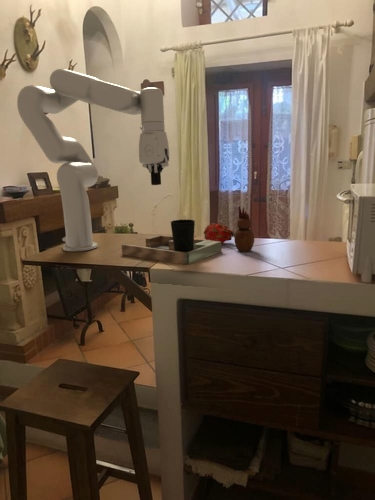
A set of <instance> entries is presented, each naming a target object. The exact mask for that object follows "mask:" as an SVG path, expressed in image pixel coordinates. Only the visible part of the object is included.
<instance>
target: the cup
mask: <svg viewBox="0 0 375 500" xmlns="http://www.w3.org/2000/svg"><path fill="white" fill-rule="evenodd" d="M195 222H196V220H194V219H176V220H172V221H171V220H170V228H171V234H172V235H171V236H173V243H174V250H175V251H178V252H185V253H187V252H189V251H192V250H193V244H194V239H195V227H196V226H195V225H196V224H195Z"/></svg>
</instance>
